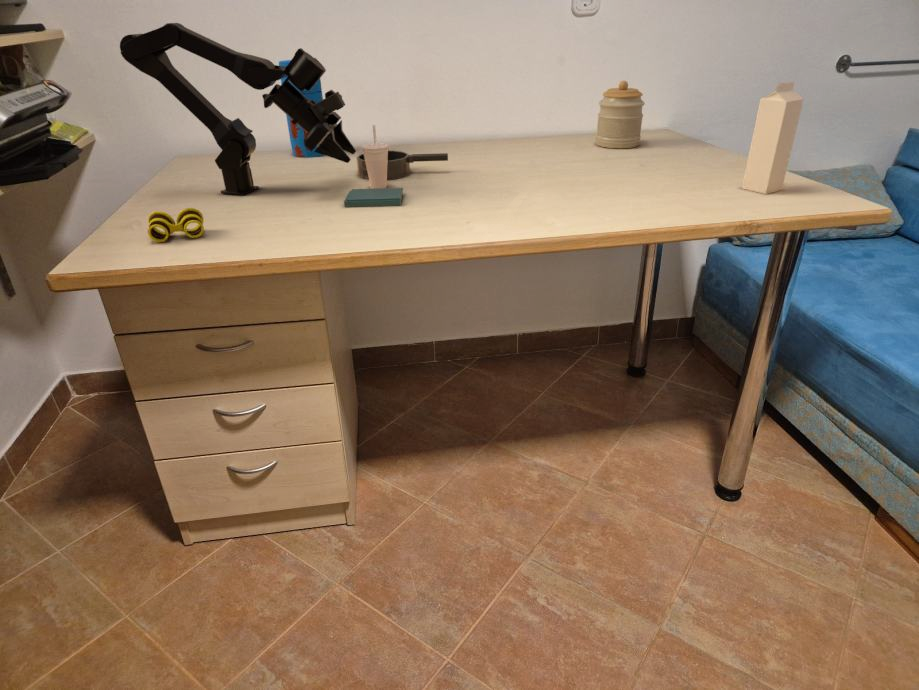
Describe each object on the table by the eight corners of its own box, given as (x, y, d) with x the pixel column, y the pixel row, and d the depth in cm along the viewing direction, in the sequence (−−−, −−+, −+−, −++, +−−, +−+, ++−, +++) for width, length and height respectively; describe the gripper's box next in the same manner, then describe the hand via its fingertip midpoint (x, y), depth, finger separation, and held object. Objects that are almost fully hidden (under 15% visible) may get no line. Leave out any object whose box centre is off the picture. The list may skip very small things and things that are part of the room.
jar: (613, 138, 188) (619, 77, 179) (648, 144, 179) (656, 80, 170) (586, 144, 181) (591, 81, 172) (621, 151, 172) (628, 84, 163)
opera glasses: (151, 247, 112) (143, 223, 108) (152, 233, 115) (145, 210, 112) (206, 240, 114) (200, 217, 111) (206, 227, 118) (200, 204, 115)
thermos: (314, 148, 185) (301, 58, 173) (336, 152, 179) (325, 59, 167) (285, 154, 178) (270, 61, 166) (307, 158, 172) (293, 63, 160)
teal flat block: (344, 207, 129) (343, 200, 128) (350, 195, 137) (349, 189, 136) (400, 205, 129) (400, 198, 128) (403, 194, 137) (402, 187, 136)
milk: (781, 190, 133) (808, 82, 122) (765, 194, 131) (791, 85, 120) (757, 184, 138) (781, 80, 127) (740, 188, 135) (763, 82, 124)
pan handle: (407, 162, 152) (406, 155, 151) (407, 161, 154) (407, 153, 153) (447, 161, 152) (447, 154, 151) (447, 160, 154) (447, 152, 153)
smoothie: (394, 184, 145) (390, 123, 138) (389, 191, 140) (384, 128, 133) (368, 184, 146) (362, 123, 139) (362, 191, 140) (355, 128, 133)
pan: (355, 180, 149) (353, 162, 146) (361, 168, 160) (360, 151, 158) (408, 179, 149) (407, 160, 147) (411, 167, 160) (410, 149, 158)
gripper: (311, 83, 123) (370, 138, 128) (327, 74, 139) (378, 123, 144) (279, 124, 126) (337, 176, 132) (298, 111, 143) (349, 157, 148)
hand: (352, 156), depth 139 cm, fingers open, 9 cm apart
